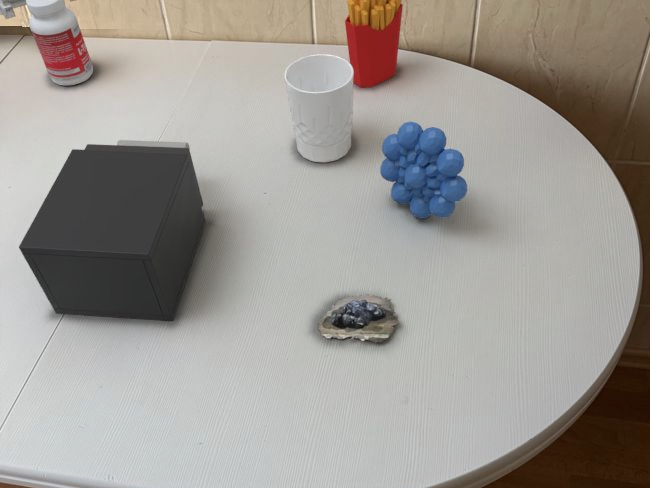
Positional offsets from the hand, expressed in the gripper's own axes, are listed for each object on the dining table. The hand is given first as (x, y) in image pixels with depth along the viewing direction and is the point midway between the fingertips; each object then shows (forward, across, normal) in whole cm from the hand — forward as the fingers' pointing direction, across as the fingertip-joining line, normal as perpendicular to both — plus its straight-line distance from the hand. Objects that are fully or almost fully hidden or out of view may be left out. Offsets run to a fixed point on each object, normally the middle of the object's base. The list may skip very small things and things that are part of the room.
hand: (41, 4), depth 101 cm
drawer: (+47, +1, -5) cm, 47 cm away
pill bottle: (+10, 0, -6) cm, 11 cm away
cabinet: (+51, +4, -6) cm, 51 cm away
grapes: (+59, -28, -6) cm, 66 cm away
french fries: (+32, -37, -6) cm, 49 cm away
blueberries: (+70, -14, -6) cm, 71 cm away
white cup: (+43, -24, -6) cm, 49 cm away
